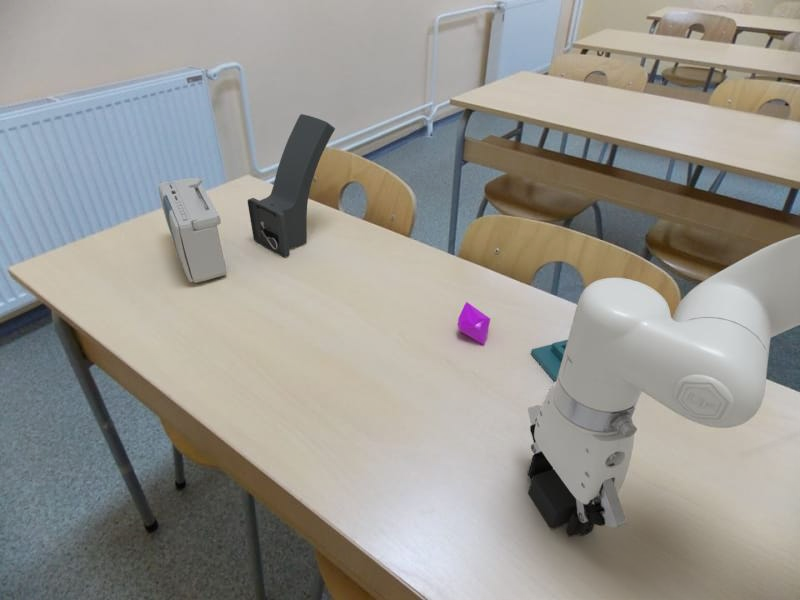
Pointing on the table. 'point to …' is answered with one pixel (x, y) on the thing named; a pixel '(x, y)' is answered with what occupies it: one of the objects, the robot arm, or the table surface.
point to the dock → (550, 357)
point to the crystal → (473, 323)
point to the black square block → (552, 498)
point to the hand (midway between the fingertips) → (558, 500)
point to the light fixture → (290, 188)
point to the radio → (193, 228)
